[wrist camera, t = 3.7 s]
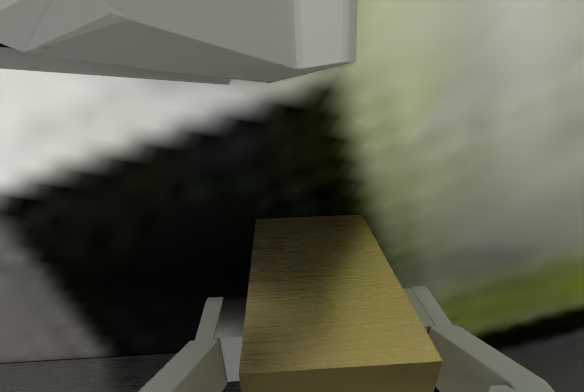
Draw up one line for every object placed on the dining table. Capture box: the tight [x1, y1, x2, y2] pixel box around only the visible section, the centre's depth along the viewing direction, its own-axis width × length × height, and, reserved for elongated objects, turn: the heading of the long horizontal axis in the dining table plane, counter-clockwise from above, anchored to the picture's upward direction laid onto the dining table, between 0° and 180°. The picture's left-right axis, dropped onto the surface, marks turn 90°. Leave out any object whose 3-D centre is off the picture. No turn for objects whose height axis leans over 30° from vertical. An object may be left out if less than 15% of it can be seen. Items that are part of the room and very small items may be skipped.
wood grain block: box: [239, 215, 443, 392], centre depth 9 cm, size 4×4×6 cm
